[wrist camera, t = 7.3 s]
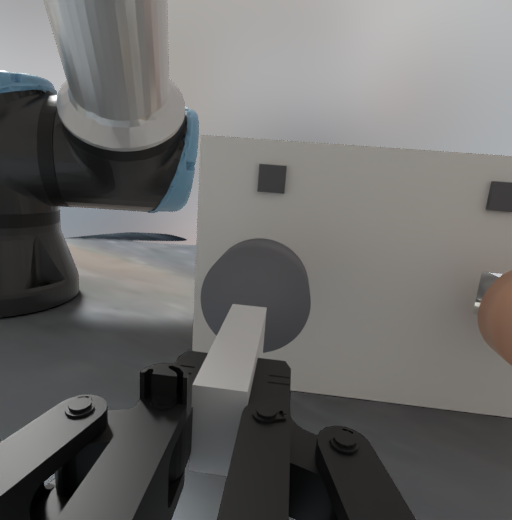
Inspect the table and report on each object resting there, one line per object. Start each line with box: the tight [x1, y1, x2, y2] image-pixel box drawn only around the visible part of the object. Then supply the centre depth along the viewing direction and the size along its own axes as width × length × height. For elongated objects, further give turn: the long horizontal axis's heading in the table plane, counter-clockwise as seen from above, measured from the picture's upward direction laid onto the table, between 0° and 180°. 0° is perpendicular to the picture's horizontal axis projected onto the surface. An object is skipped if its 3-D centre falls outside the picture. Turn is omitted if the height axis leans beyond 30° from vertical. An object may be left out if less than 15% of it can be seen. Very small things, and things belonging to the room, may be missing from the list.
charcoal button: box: [201, 238, 311, 353], centre depth 25 cm, size 10×6×6 cm, turn 174°
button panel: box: [192, 135, 512, 418], centre depth 29 cm, size 7×26×18 cm, turn 84°
